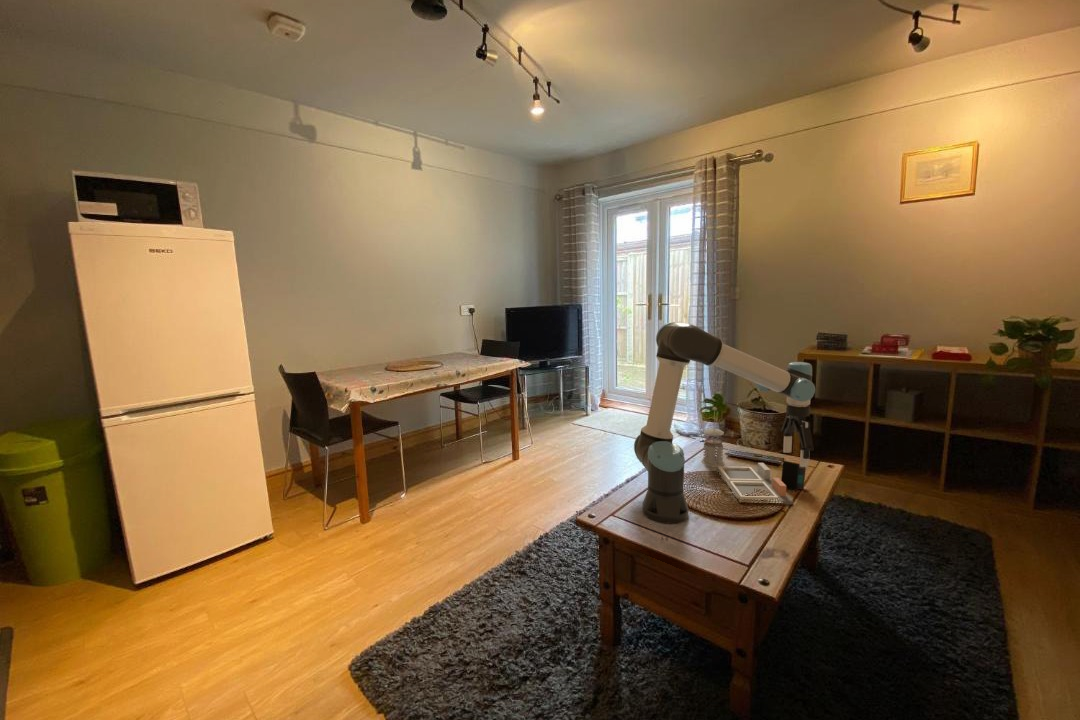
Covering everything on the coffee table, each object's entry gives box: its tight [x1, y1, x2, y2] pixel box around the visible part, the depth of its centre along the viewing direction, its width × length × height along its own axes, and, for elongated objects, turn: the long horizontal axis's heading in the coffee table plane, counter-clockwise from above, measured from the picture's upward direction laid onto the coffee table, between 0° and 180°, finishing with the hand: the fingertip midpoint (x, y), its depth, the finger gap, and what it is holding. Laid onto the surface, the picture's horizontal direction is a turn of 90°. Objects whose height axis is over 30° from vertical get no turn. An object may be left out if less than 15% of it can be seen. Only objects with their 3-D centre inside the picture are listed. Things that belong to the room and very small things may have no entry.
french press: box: [700, 406, 726, 468], centre depth 187 cm, size 10×12×25 cm
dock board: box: [715, 462, 794, 505], centre depth 166 cm, size 18×28×5 cm, turn 174°
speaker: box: [780, 460, 807, 492], centre depth 163 cm, size 8×6×10 cm
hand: (795, 459), depth 163 cm, fingers open, 13 cm apart
